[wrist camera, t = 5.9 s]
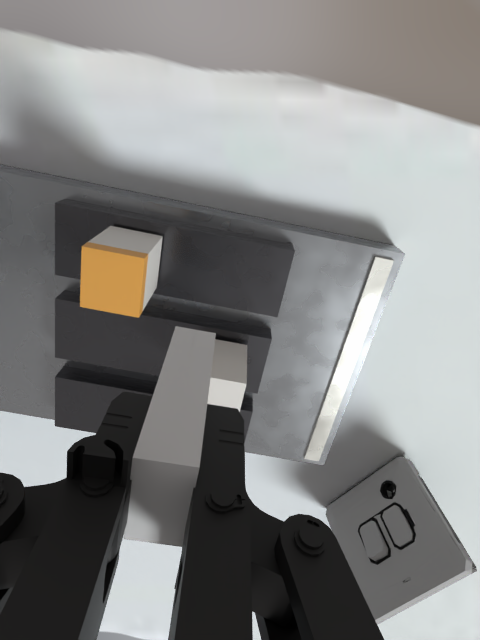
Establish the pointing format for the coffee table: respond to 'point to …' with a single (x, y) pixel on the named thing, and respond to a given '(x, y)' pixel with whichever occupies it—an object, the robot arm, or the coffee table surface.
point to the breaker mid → (228, 374)
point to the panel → (185, 309)
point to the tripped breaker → (119, 271)
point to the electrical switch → (397, 540)
